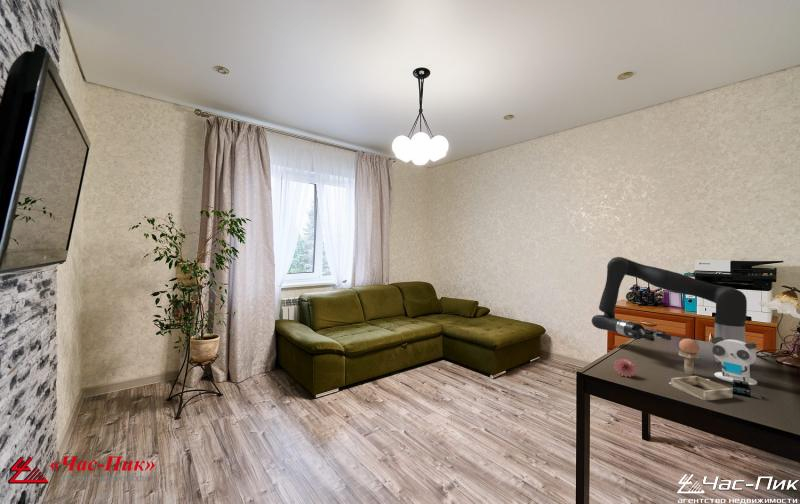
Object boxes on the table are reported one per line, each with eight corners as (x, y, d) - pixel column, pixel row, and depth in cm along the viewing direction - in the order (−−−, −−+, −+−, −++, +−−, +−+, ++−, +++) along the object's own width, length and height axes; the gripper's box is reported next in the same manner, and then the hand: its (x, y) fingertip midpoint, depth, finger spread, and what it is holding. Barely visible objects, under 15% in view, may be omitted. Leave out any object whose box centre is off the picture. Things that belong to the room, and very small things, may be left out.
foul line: (707, 379, 121) (707, 378, 121) (710, 380, 120) (710, 379, 120) (668, 383, 119) (668, 382, 119) (671, 384, 118) (671, 383, 118)
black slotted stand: (716, 393, 111) (716, 380, 111) (714, 386, 117) (714, 374, 117) (770, 404, 103) (770, 390, 103) (765, 396, 109) (765, 383, 109)
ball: (687, 350, 131) (687, 336, 131) (703, 355, 125) (703, 340, 125) (675, 351, 130) (675, 337, 130) (690, 356, 124) (690, 341, 124)
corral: (696, 383, 118) (696, 375, 118) (732, 397, 107) (732, 388, 107) (671, 386, 116) (671, 378, 116) (705, 400, 105) (705, 391, 105)
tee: (687, 371, 130) (687, 350, 130) (699, 375, 125) (699, 353, 125) (678, 371, 129) (678, 351, 129) (690, 376, 125) (690, 354, 125)
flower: (617, 355, 132) (619, 351, 128) (639, 367, 127) (642, 363, 123) (608, 371, 130) (610, 367, 126) (630, 383, 126) (633, 380, 121)
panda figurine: (706, 375, 126) (706, 337, 125) (720, 370, 130) (720, 334, 130) (748, 387, 115) (748, 346, 114) (763, 381, 119) (763, 342, 119)
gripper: (616, 322, 153) (648, 330, 137) (642, 320, 155) (675, 329, 139) (616, 337, 153) (648, 347, 137) (642, 336, 155) (675, 346, 139)
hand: (662, 338), depth 138 cm, fingers open, 8 cm apart
